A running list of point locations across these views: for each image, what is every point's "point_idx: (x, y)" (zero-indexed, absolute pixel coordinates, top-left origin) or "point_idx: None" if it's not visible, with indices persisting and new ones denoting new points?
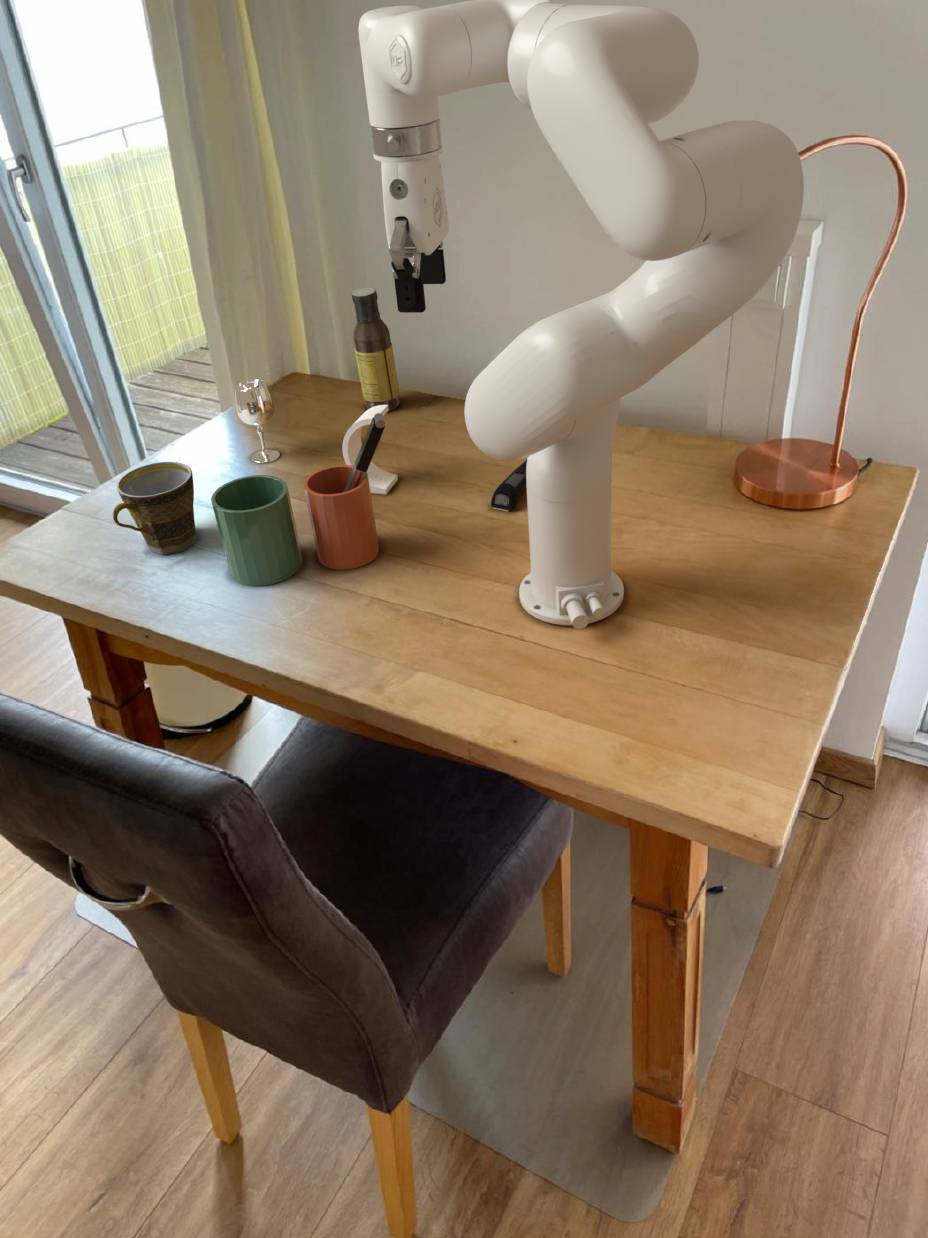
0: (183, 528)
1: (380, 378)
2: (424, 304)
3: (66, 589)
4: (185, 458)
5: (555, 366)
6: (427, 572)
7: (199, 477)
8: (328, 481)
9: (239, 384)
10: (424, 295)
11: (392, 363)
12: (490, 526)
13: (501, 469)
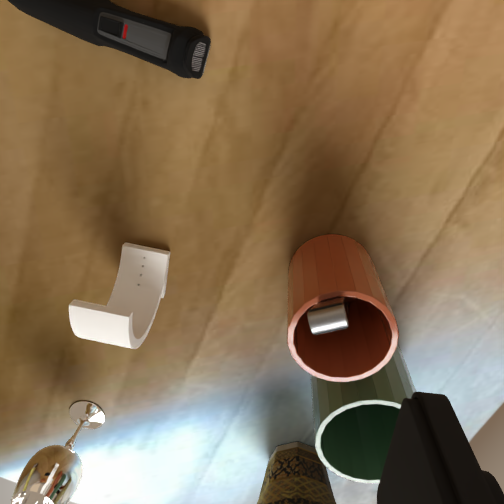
0: (315, 467)
1: None
2: (453, 420)
3: None
4: (106, 490)
5: None
6: (390, 155)
7: (149, 468)
8: (300, 344)
9: None
10: (445, 461)
11: None
12: (258, 71)
13: (67, 77)
